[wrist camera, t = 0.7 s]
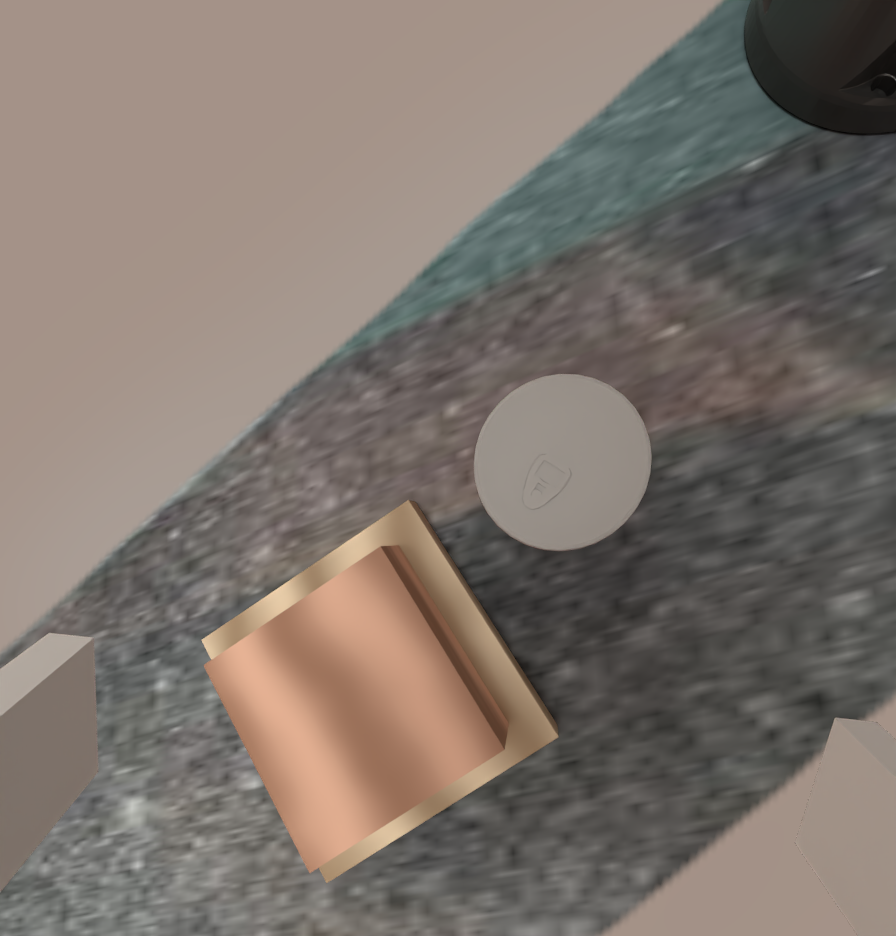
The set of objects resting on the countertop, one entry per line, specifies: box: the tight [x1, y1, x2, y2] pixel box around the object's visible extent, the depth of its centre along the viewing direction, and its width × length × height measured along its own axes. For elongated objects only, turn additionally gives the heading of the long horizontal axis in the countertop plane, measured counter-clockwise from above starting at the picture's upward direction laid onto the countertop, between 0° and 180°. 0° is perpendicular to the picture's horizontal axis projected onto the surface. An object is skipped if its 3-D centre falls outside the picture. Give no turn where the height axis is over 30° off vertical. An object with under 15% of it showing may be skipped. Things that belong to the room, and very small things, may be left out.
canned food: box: [474, 374, 652, 551], centre depth 29 cm, size 8×8×11 cm
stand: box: [202, 500, 559, 883], centre depth 32 cm, size 16×16×6 cm
